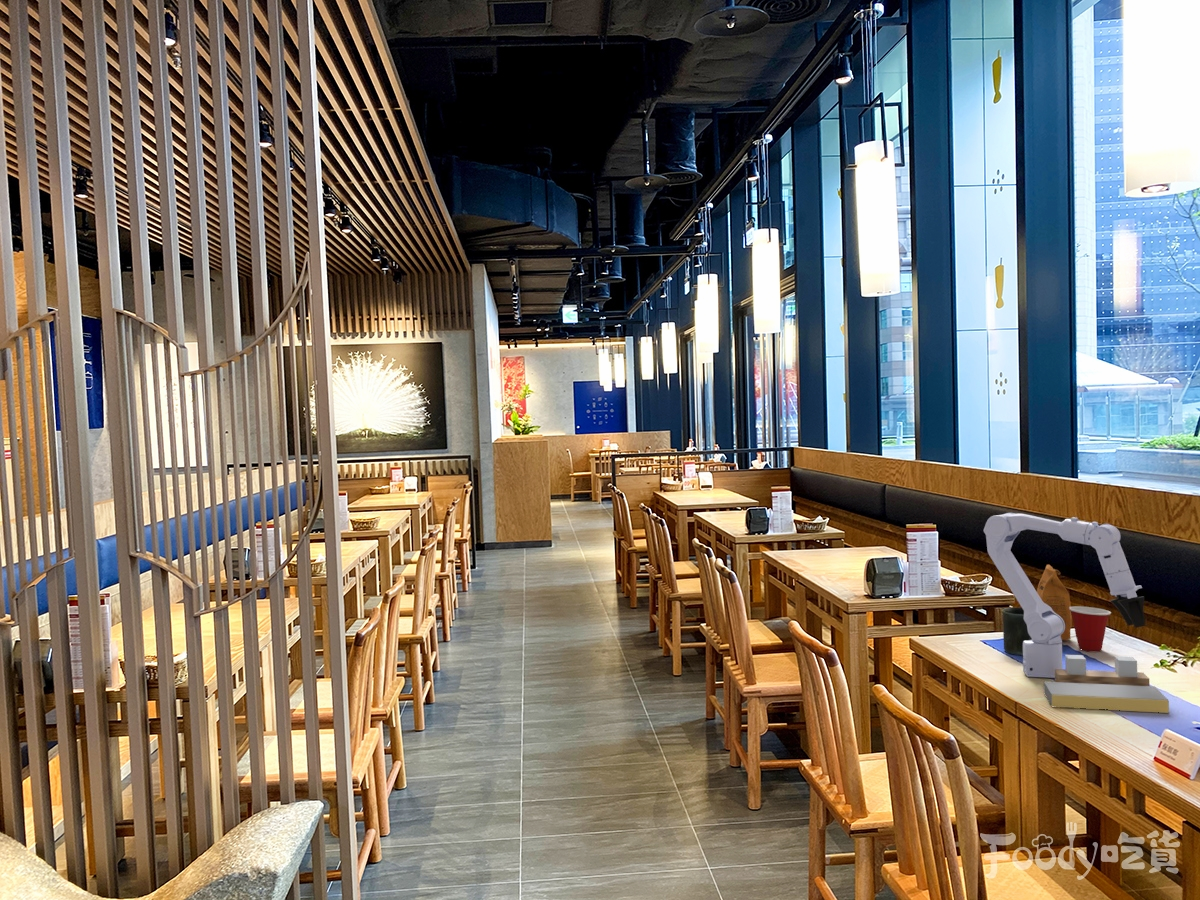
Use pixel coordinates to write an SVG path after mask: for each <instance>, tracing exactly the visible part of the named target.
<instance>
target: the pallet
mask: <svg viewBox="0 0 1200 900" xmlns="http://www.w3.org/2000/svg"><path fill="white" fill-rule="evenodd" d="M1054 682H1064V683H1087V684H1110V685H1133V686H1151V685H1150V678H1149V676H1147V675H1146V673H1144V672H1142V671H1140V672H1138V671H1137V677H1119V676H1118V675H1117V674H1116V673H1115V670H1114V671H1112V670H1092V669H1091V670H1089V669H1088V670H1087V669H1086V675H1070V674H1068V673H1067V672H1066V670H1065V668H1063V669H1055V678H1054Z"/></svg>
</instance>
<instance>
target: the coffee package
mask: <svg viewBox="0 0 1200 900" xmlns="http://www.w3.org/2000/svg"><path fill="white" fill-rule="evenodd" d="M1060 575H1061V572H1060V571H1059V570H1058V569H1055V568H1053V566H1051V565H1050V564H1046V566H1045V569H1044V571H1043V573H1042V576H1041V578H1040V580H1039V583H1038V586H1037V589H1036V592H1037V593H1038V595H1039V596H1040V598H1041V600H1042V601H1043V602H1044V603H1045V604H1047V605H1048V606H1050V607H1051V608H1052V610H1053V611H1054V612H1055V613H1056V614H1057V615H1059V616H1060V617H1061V618H1062V619H1063V621H1064V623H1065V630H1064V632H1063V633H1062V634H1061V639H1062V641H1066V640H1071V629H1072V625H1073V622H1072V621H1073V619H1072V615H1071V611H1070V610H1069V608H1070V607H1071V602H1070V601H1071V599H1070V593H1069V591H1068V590H1067V588H1066V586H1065V585H1064V584H1063V583H1062V581H1061V580H1060V579H1059V577H1058V576H1060Z"/></svg>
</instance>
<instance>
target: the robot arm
mask: <svg viewBox="0 0 1200 900" xmlns="http://www.w3.org/2000/svg"><path fill="white" fill-rule="evenodd" d="M1098 523H1099V522H1098V521H1092V522H1088V521H1083V520H1079V518H1078V517H1074V516H1073V517H1070V518H1065V519H1064V520H1063V521H1058V520H1053V519H1049V518H1044V517H1040V516H1035V515H1031V514H1026V513H1014V512H1006V513H1003V514H998V515H991V516H990V517H989V518H988V519H987V521H986V522H985V525H984V528H983V533H984V534H985V539H986V547H987V548H986V549H987V554H988V555H989V557H990V559H991V560H992V562H993V564H994V565H995V567H996V568H997V570H998V571H999V573H1000V574H1001V576H1002V578H1003V579H1004V581H1005V583H1006V584H1007V586H1008V587H1009V589H1010V590H1011V593H1012V594H1013V595H1014V597H1015V599H1016V601H1017V603H1018V604H1019V605H1020V607H1022V608H1023V610H1024V621H1025V622H1026V624H1027V630H1028V633H1029V635H1030V637H1031V638H1032V640H1027V641H1023V655H1022V670H1023V672H1024V673H1025V675H1026V677H1028V678H1045V679H1046V678H1049V679H1050V678H1051V679H1055V669H1064V667H1063V666H1064V664H1063V640H1062V639H1061V634H1062V633H1063V632H1064V630H1065V623H1064V621H1063V619H1062V618H1061V617H1060V616H1059V615H1057V614H1056V613H1055V612H1054V611H1053V610H1052V608H1051V607H1050V606H1048V605H1047V604H1045V603H1044V602H1043V601H1042V600H1041V598H1040V596H1039V595H1038V593H1037V589H1035V587H1034V585H1033V584H1032V583H1031V581H1030V579H1029V577H1028V575H1027V574H1026V573H1025V571H1024V570H1023V568H1022V566H1021V565H1020V563H1019V562H1018V560H1017V559H1016V557H1015V555H1014V554H1013V552H1012V551H1011V549H1012V546H1013V543H1014V541H1015V539H1016V538H1017V537H1018V535H1019V534H1020V533H1021V531H1026V530H1031V531H1037V532H1044V533H1048V534H1049V533H1050V534H1055V535H1058V536H1059V537H1060V538H1061V539H1062V541H1065V542H1066V541H1068V542H1071V543H1077V544H1081V545H1085V546H1091V547H1092V548H1093V549H1094V550H1095V551H1096V554H1097V556H1098V561H1099V562H1100V565H1101V569H1102V570H1103V574H1104V577H1105V579H1106V582H1107V585H1108V588H1109V591H1110V592H1109V594H1110V595H1111V596H1114V598H1113V599H1110V600H1109V601H1110V603H1111V604H1112V605H1113V606H1114V607H1115V608H1116V609H1117V610H1118V612H1119V613H1120V615H1121V616H1122V618H1123V620H1124V622H1125V623H1126V625H1127V626H1128V627H1129V626H1134V628H1135V629H1136V628H1141V627H1145V626H1146V619H1145V614H1144V613H1145V612H1144V603H1145V596H1142V595H1141V596H1138V595H1137V593H1136V592H1137V591H1138V590H1139V589H1143V587H1142V585H1136V583H1135V581H1134V577H1133V574H1132V572H1131V570H1130V567H1129V563H1128V561H1127V559H1126V554H1125V553H1124V550H1123V548H1122V546H1121V542H1120V541H1121V532H1120V530H1119V529H1118V528H1117V527H1116V526H1115V525H1112V524H1110V523H1103V524H1101V525H1099V524H1098ZM1115 597H1116V598H1115Z"/></svg>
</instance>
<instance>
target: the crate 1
mask: <svg viewBox="0 0 1200 900" xmlns="http://www.w3.org/2000/svg"><path fill="white" fill-rule="evenodd" d="M1064 660H1065V661H1064V663H1065V664H1064V666H1065V667H1064V669H1065V670H1066V672H1067V673H1068V674H1070V675H1086V670H1087V658H1086V657H1084V655H1082V654H1064Z"/></svg>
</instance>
